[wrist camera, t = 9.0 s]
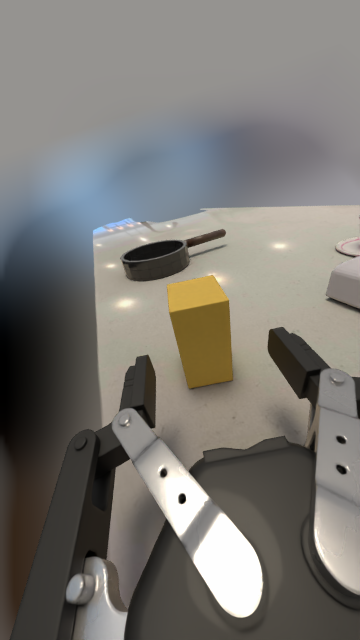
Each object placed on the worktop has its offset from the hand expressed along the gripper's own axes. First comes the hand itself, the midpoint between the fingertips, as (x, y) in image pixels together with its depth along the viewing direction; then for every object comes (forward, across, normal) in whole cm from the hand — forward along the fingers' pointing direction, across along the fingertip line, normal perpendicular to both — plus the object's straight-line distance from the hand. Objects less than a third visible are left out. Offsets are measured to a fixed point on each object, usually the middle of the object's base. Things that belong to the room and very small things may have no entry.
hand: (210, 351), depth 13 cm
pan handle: (+46, +8, -5) cm, 47 cm away
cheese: (+5, 0, -7) cm, 9 cm away
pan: (+41, -5, -7) cm, 42 cm away
